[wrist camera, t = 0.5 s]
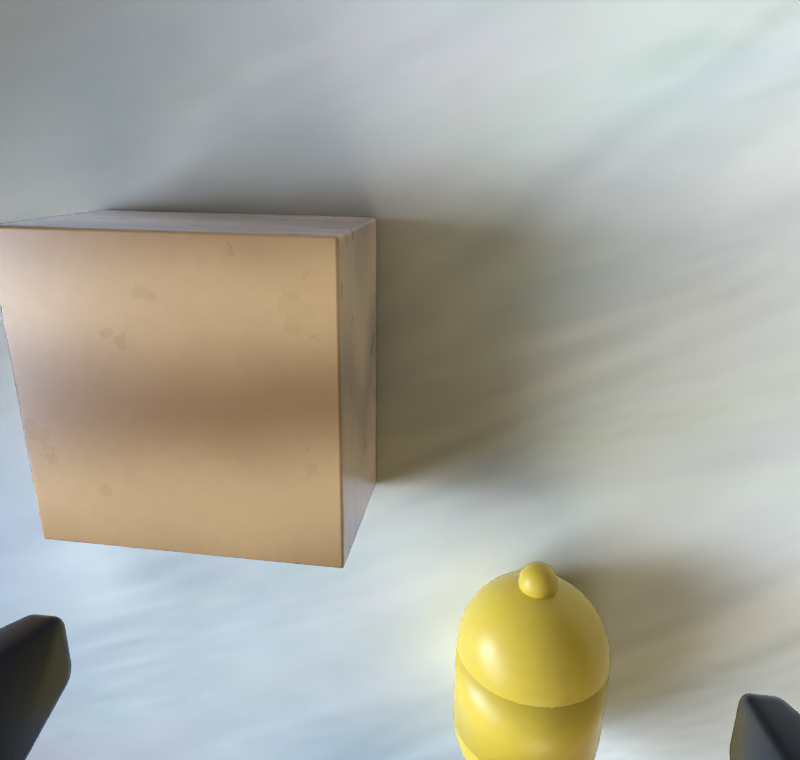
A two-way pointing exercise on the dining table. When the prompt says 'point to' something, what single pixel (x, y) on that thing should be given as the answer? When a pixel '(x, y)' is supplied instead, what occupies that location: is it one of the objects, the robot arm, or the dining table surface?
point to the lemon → (530, 670)
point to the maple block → (196, 378)
